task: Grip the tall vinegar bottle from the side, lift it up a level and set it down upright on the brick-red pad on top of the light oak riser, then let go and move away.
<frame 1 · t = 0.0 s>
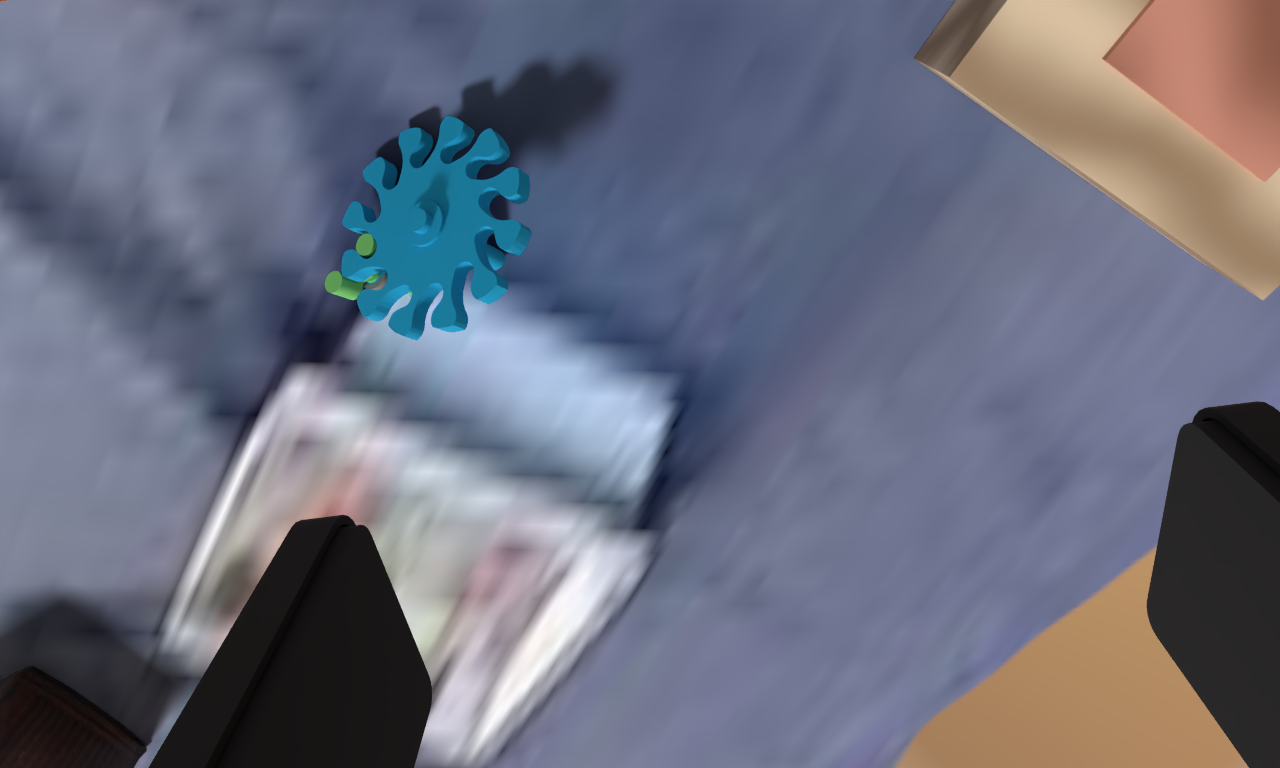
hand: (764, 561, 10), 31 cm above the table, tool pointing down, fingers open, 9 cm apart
gear: (443, 206, 40), on the table
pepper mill: (75, 718, 59), on the table
riser: (1202, 3, 35), on the table
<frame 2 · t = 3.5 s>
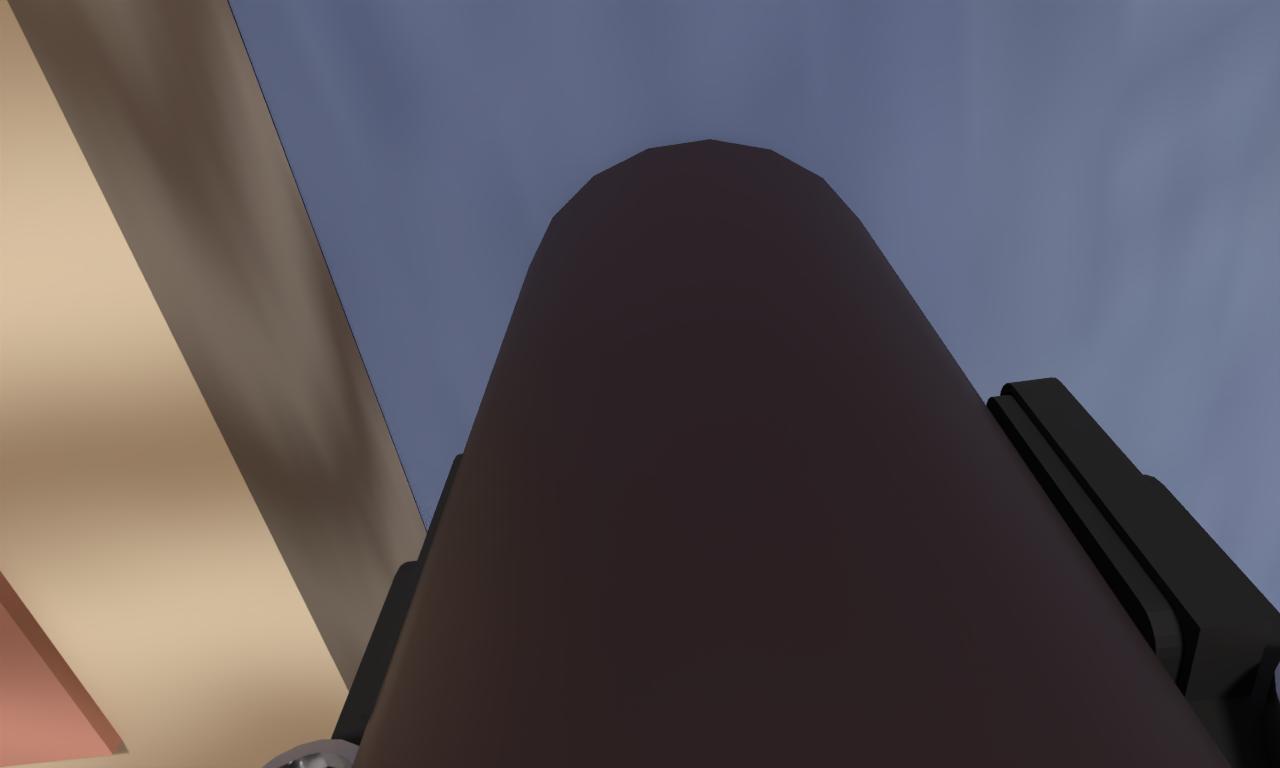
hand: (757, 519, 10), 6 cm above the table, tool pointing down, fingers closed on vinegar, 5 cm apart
vinegar: (699, 305, 16), on the table, touching gripper
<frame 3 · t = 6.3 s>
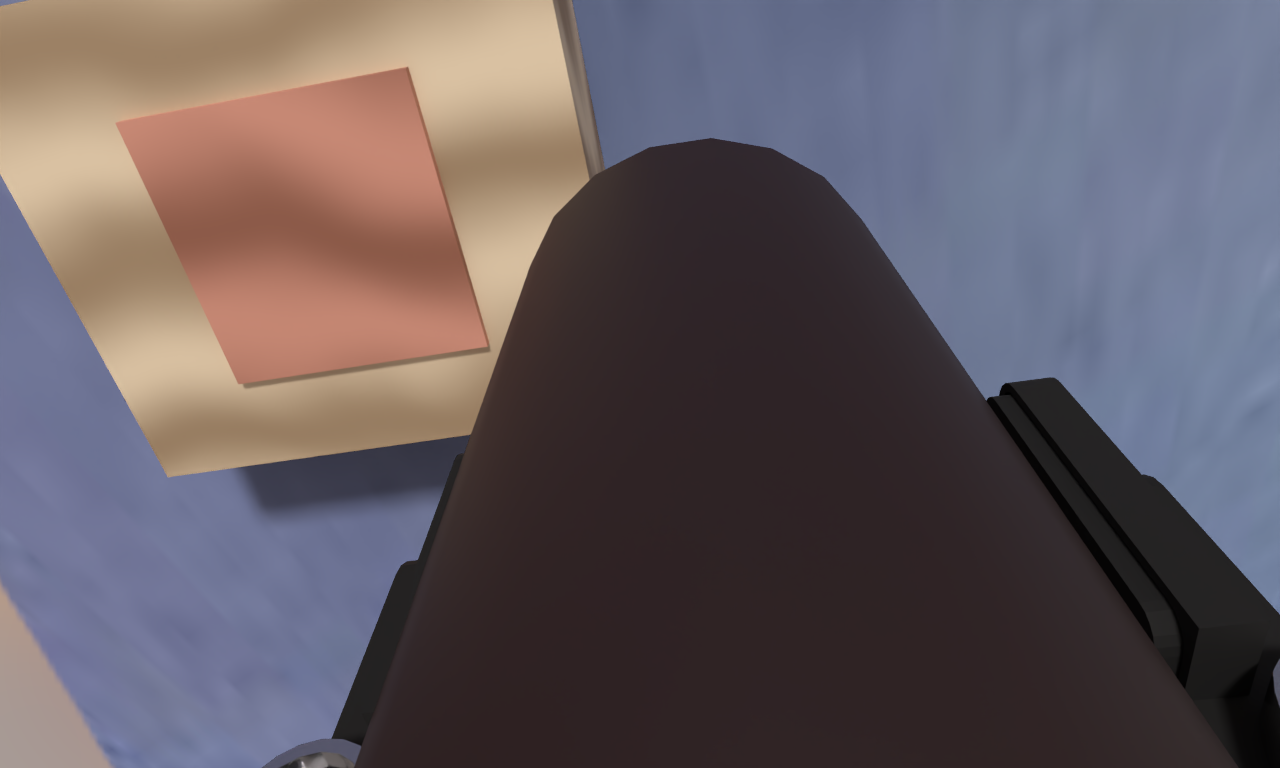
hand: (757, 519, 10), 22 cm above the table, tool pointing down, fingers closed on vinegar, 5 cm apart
vinegar: (700, 304, 16), point 15 cm above the table, touching gripper
riser: (365, 194, 31), on the table
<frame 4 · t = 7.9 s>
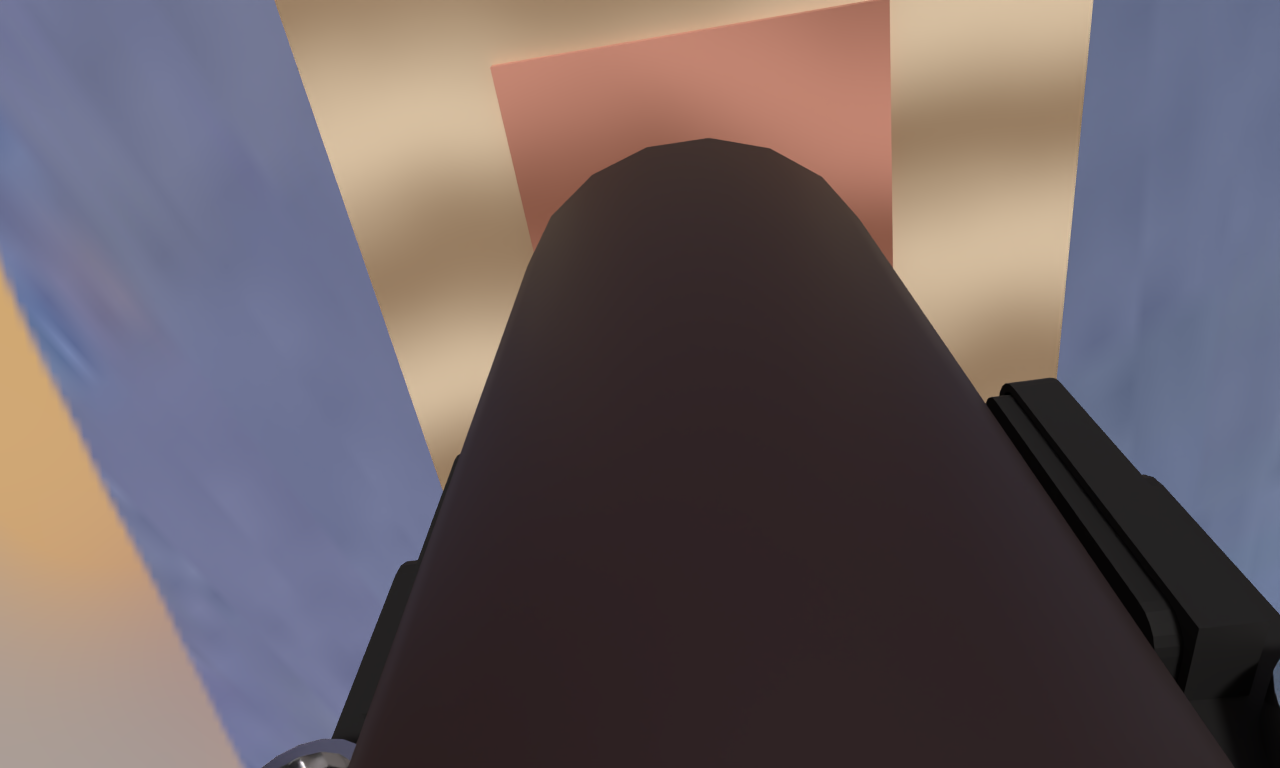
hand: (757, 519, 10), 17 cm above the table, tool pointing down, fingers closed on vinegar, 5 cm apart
vinegar: (698, 304, 16), point 10 cm above the table, touching gripper
riser: (699, 169, 25), on the table
when the fingers open (13 cm above the table, at t = 8.9 s): vinegar drops 1 cm, resting on riser.
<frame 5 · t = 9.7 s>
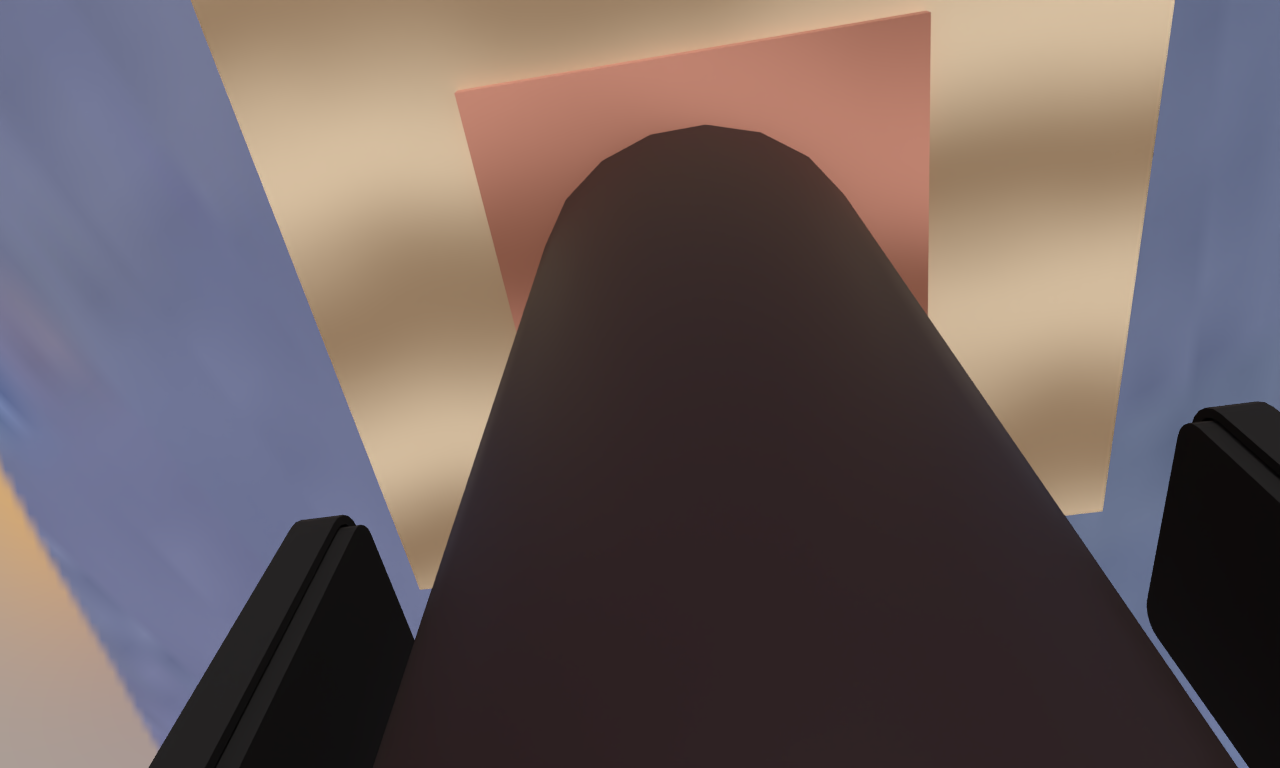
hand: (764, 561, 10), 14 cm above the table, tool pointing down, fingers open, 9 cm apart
vinegar: (701, 278, 18), point 5 cm above the table, touching riser
riser: (701, 201, 22), on the table
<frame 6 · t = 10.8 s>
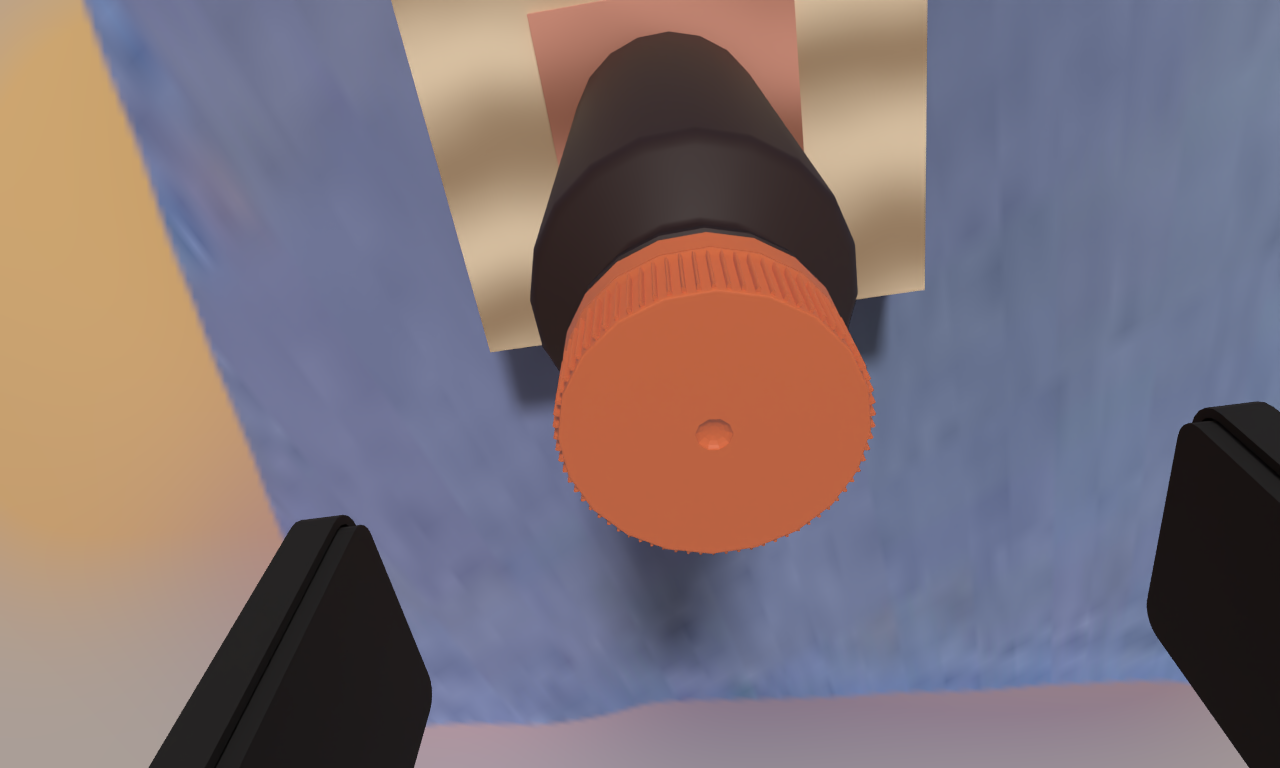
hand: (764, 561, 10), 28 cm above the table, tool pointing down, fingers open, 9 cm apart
vinegar: (668, 129, 30), point 5 cm above the table, touching riser
riser: (671, 98, 34), on the table
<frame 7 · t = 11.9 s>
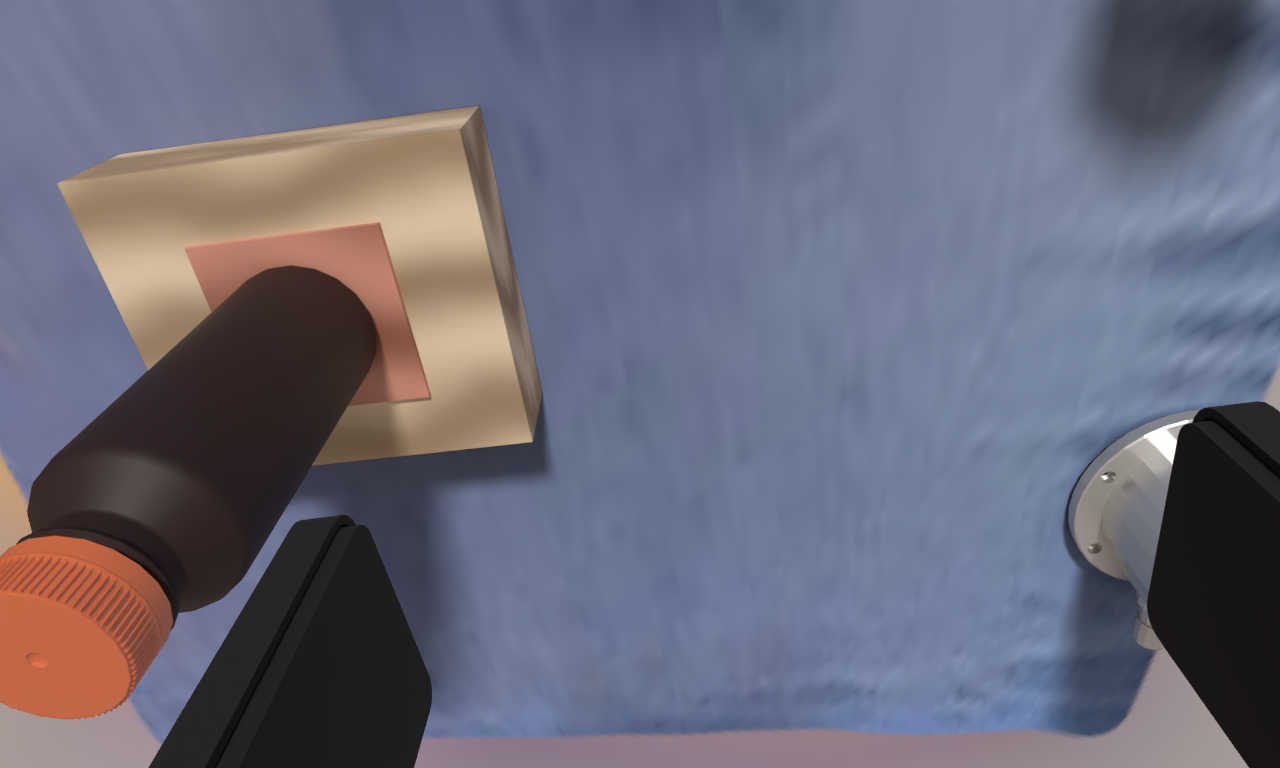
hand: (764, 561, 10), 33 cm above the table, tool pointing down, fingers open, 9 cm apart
vinegar: (309, 327, 39), point 5 cm above the table, touching riser
riser: (347, 282, 44), on the table
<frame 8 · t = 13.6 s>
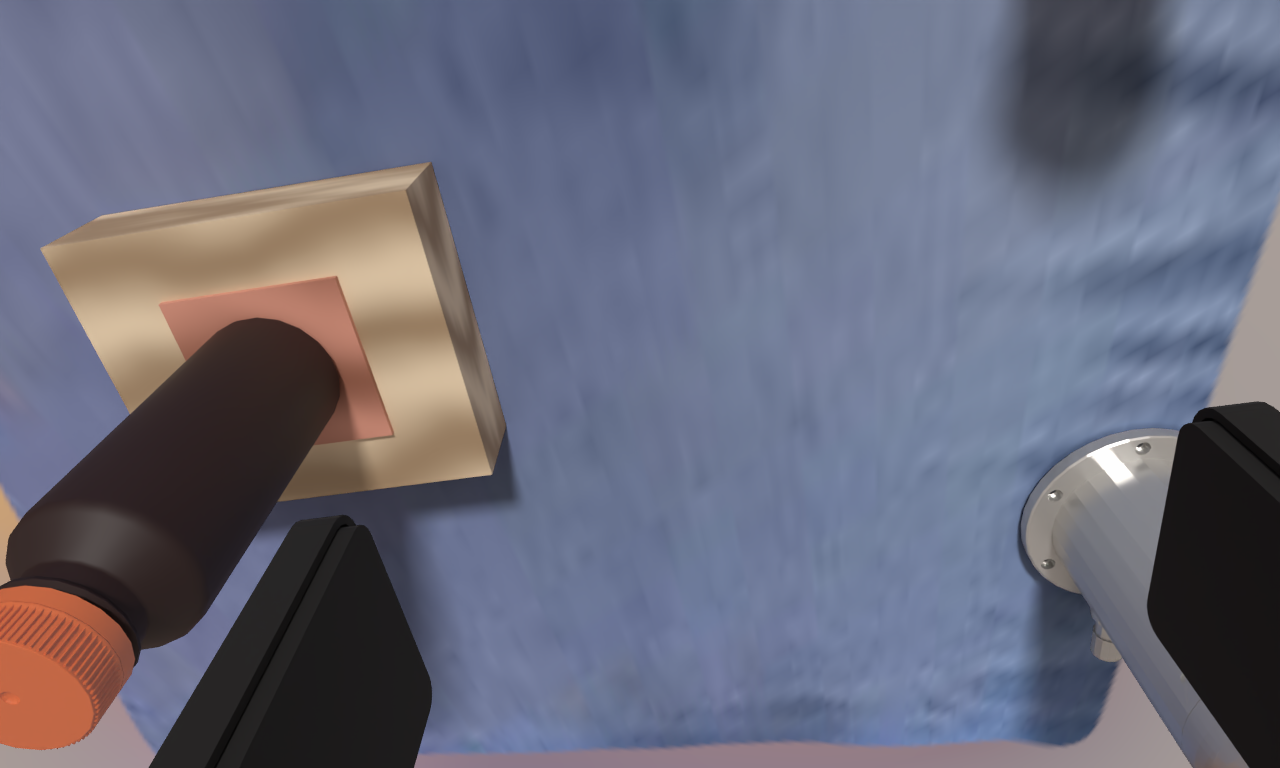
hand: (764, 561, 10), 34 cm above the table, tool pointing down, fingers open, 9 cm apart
vinegar: (277, 373, 42), point 5 cm above the table, touching riser
riser: (317, 327, 46), on the table
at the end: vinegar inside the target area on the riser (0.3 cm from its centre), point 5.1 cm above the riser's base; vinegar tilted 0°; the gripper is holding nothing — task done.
